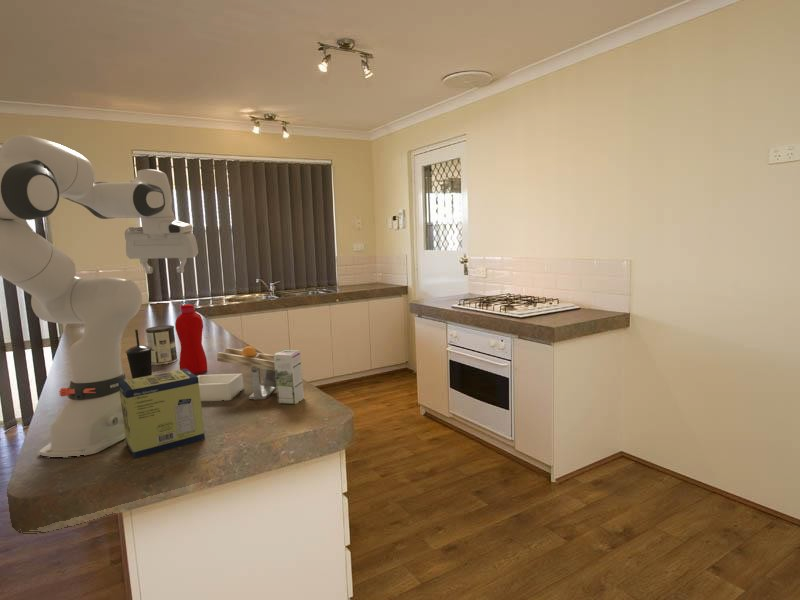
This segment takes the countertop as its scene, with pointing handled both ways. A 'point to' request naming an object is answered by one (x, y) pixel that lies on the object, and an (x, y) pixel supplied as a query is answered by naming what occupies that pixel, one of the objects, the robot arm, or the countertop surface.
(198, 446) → the countertop surface
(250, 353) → the ball
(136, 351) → the drinking cup
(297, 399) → the syrup box
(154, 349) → the coffee can
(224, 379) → the white open tray
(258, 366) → the lever
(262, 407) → the countertop surface
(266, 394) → the pivot stand
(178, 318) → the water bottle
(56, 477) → the countertop surface
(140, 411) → the protein box
